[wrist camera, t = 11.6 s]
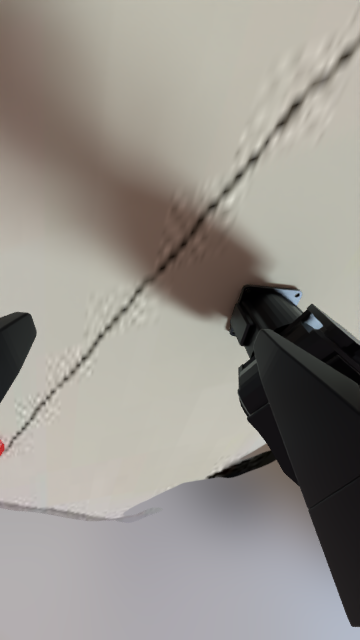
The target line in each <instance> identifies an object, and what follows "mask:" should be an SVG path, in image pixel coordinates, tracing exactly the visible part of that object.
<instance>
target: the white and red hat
mask: <svg viewBox="0 0 360 640" xmlns="http://www.w3.org/2000/svg"><path fill="white" fill-rule="evenodd" d="M3 451H4V444H3V442H2V441H1V440H0V456H1V454H2V452H3Z"/></svg>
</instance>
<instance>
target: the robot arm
mask: <svg viewBox="0 0 360 640" xmlns="http://www.w3.org/2000/svg"><path fill="white" fill-rule="evenodd" d="M246 289H249V290H248V291H246ZM297 293H298V294H297ZM296 294H297V295H296ZM295 295H296V296H295ZM301 296H302V292H301V291H300V290H298V289H288V288H278V287H267V286H256V285H245V286H244V287H243V289H242V292H241V295H240V298H239V301H238V303H237V304H236V305H235V308H234V311H233V314H232V318H231V321H230V323H231V327H230V330H229V332H230V334H231V335H232V336H236V337H237V339H238V342H239V344H240V345H241V346H244V347H245V349H246V351H247V353H248V355H249V358H250V360H248V361H247V362H246V363H245V364H242V365H241V366H240V367H239V368H238V370H239V389H238V396H239V400H240V403H241V407H242V408H243V410H244V412H245V414H246V415H247V420H248V421H249V423H250V424H251V425H252V426H253V427H254V428H255V429H256V430H257V431H258V432H259V433H260V435H261V436H262V437H263V439H264V440H265V441H266V443H267V444H268V446H269V448H270V449H271V451H272V452H273V454H274V456H275V458H276V459H277V461H278V463H279V465H280V466H281V468H282V470H283V472H284V473H285V474H286V475H287V476H288V477H289V478H291V479H292V480H293V481H294V482H295V483H296V484H297V485H298V486H300V488H301V491H302V494H303V497H304V499H305V502H306V505H307V507H308V509H309V514H310V516H311V519H312V522H313V525H314V527H315V530H316V533H317V535H318V538H319V541H320V544H321V546H322V549H323V552H324V554H325V557H326V560H327V563H328V566H329V568H330V571H331V574H332V577H333V579H334V582H335V585H336V587H337V590H338V593H339V596H340V598H341V601H342V604H343V607H344V609H345V612H346V615H347V617H348V619H349V622H350V624H351V626H352V627H360V341H359V340H358V339H356V338H355V337H354V336H353V335H352V334H350V333H349V332H348V331H347V330H346V329H344V328H343V327H342V326H341V325H339V324H338V323H337V322H335V321H334V320H333V319H331V318H330V317H329V316H328V315H326V314H325V313H324V312H322V311H321V310H320V309H319V308H317V307H316V306H315V305H313V304H311V305H310V306H309V307H307V310H306V311H305V312H304V313H303V312H302V311H301V310H300V309H299V308H298V307H297V304H298V302H299V300H300V298H301ZM233 331H234V332H233ZM36 333H37V332H36V328H35V325H34V322H33V319H32V316H31V315H30V314H29V313H24V312H15V313H12V314H9V315H7V316H4V317H1V318H0V403H1V401H2V400H3V398H4V396H5V395H6V393H7V391H8V390H9V388H10V387H11V385H12V383H13V382H14V380H15V378H16V377H17V375H18V373H19V371H20V369H21V368H22V366H23V363H24V361H25V359H26V357H27V355H28V353H29V351H30V348H31V346H32V344H33V342H34V340H35V338H36Z"/></svg>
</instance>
